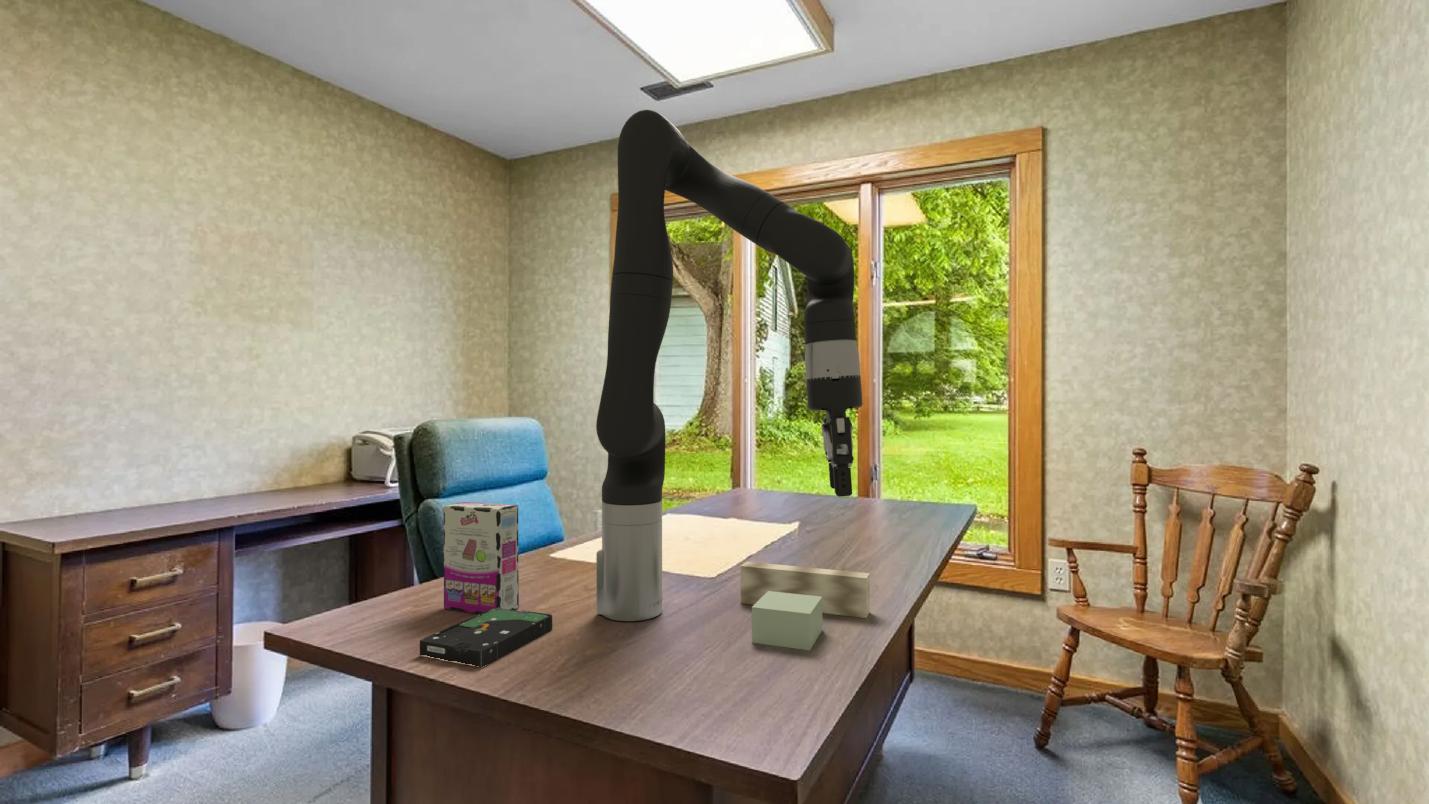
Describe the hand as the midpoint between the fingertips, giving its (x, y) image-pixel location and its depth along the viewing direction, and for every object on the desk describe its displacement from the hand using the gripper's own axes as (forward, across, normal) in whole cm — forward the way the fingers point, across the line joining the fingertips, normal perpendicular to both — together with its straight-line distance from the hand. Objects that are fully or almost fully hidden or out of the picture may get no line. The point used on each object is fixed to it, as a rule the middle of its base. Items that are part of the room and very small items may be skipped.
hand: (840, 491), depth 92 cm
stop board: (+19, -12, -6) cm, 24 cm away
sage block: (+20, 0, -9) cm, 21 cm away
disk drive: (+18, +6, -49) cm, 52 cm away
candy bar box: (+16, -7, -56) cm, 59 cm away
